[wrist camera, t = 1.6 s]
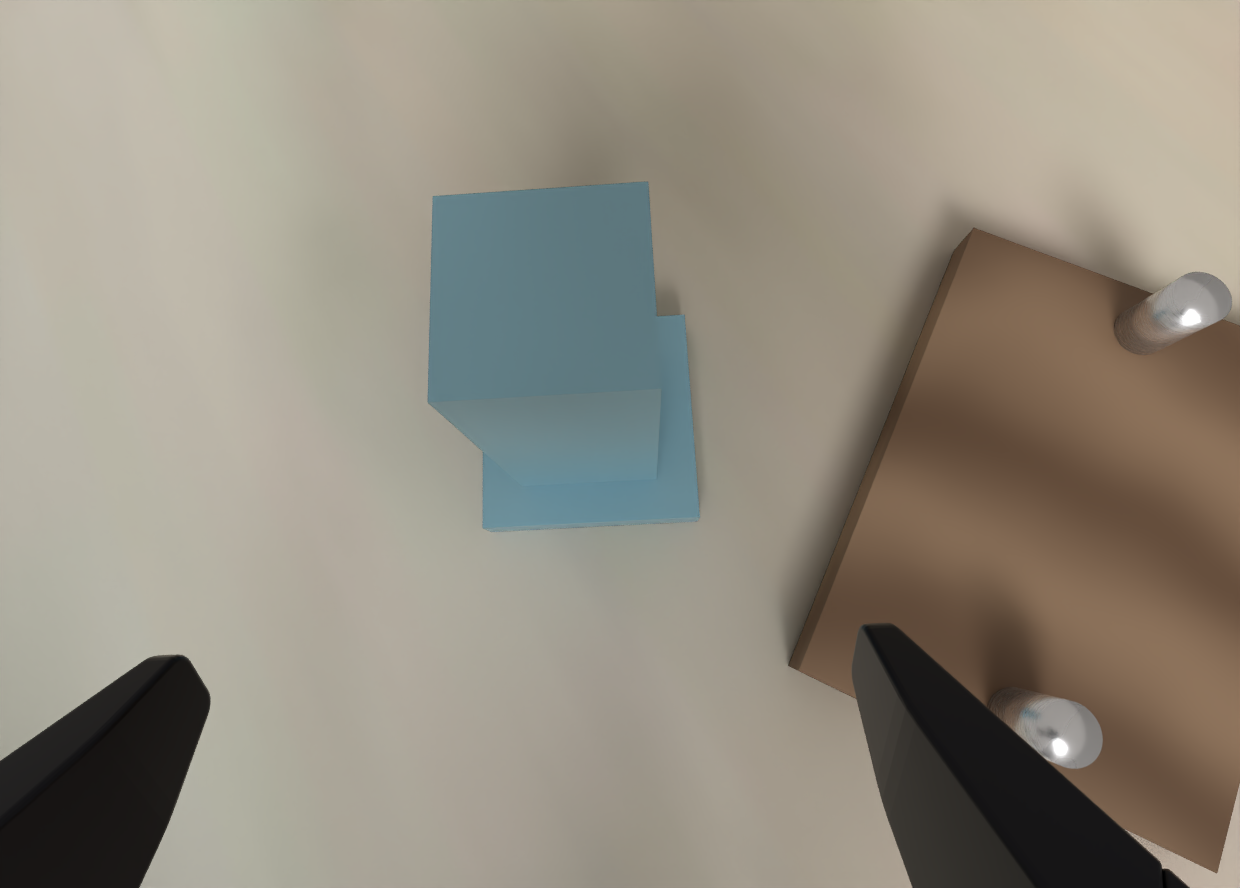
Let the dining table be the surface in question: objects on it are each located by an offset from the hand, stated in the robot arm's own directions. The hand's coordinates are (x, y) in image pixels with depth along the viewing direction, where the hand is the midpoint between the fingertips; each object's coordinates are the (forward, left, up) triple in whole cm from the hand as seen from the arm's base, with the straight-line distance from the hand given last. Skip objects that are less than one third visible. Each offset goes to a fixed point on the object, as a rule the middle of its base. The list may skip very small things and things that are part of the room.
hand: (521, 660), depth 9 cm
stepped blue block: (+3, +6, -13) cm, 15 cm away
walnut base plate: (+15, -4, -13) cm, 20 cm away
